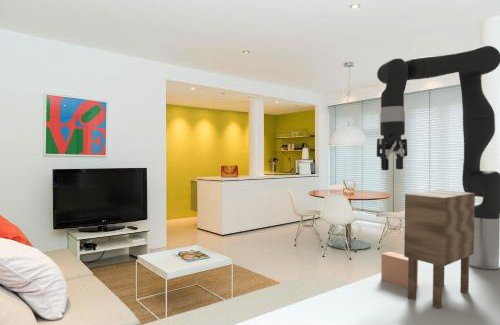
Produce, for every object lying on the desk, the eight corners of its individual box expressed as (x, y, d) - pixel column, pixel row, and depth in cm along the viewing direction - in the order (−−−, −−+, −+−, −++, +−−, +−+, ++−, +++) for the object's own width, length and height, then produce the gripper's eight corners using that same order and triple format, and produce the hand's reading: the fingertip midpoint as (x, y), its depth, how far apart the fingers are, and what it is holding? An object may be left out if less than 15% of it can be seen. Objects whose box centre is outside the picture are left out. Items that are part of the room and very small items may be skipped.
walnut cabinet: (431, 280, 103) (433, 189, 102) (472, 293, 93) (474, 193, 93) (399, 295, 92) (400, 193, 91) (442, 310, 83) (444, 198, 82)
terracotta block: (389, 276, 107) (389, 251, 107) (417, 285, 99) (417, 258, 99) (381, 279, 104) (381, 253, 104) (409, 288, 97) (409, 261, 97)
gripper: (390, 119, 104) (390, 171, 105) (414, 121, 113) (414, 169, 113) (369, 121, 110) (369, 170, 111) (393, 123, 119) (394, 168, 119)
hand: (392, 169), depth 112 cm, fingers open, 8 cm apart
